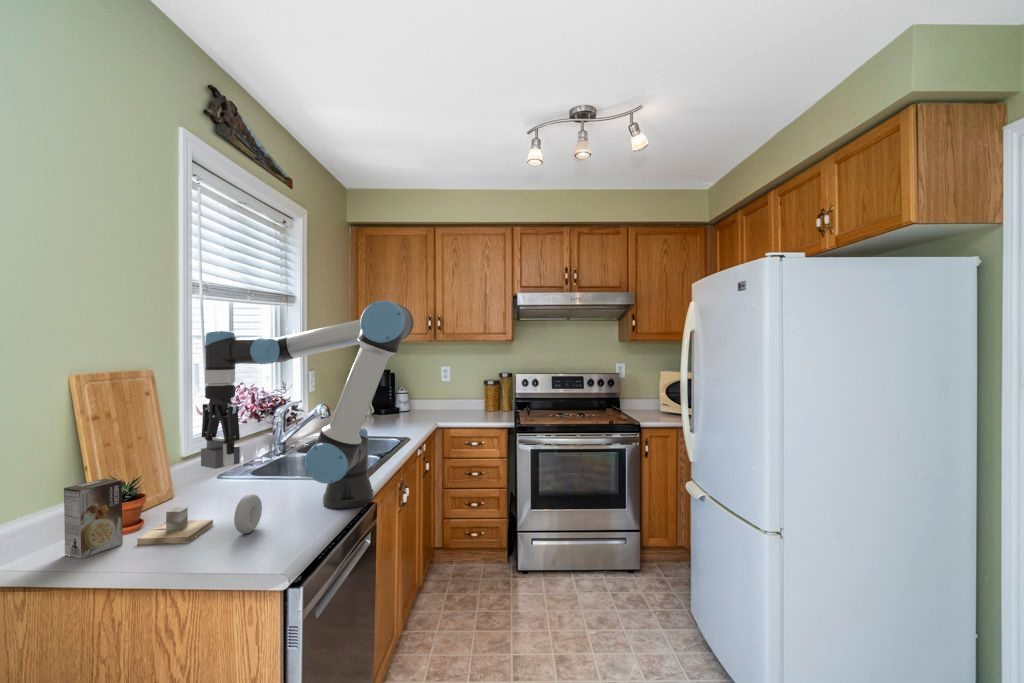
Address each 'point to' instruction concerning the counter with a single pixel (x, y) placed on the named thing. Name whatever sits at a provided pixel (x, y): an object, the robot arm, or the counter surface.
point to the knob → (216, 453)
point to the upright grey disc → (248, 513)
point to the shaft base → (175, 534)
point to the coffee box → (93, 517)
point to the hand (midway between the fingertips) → (220, 463)
